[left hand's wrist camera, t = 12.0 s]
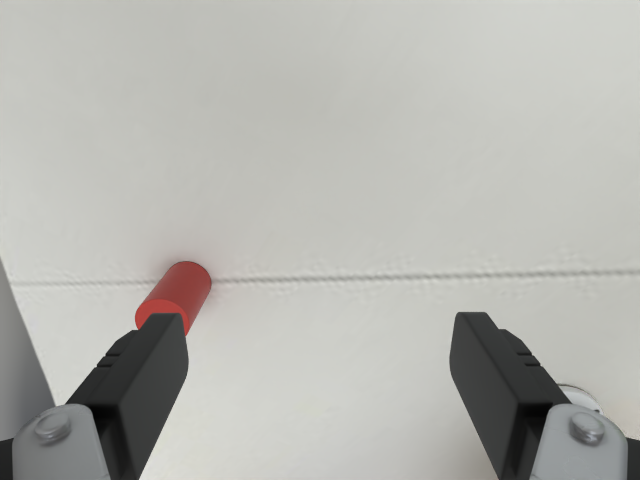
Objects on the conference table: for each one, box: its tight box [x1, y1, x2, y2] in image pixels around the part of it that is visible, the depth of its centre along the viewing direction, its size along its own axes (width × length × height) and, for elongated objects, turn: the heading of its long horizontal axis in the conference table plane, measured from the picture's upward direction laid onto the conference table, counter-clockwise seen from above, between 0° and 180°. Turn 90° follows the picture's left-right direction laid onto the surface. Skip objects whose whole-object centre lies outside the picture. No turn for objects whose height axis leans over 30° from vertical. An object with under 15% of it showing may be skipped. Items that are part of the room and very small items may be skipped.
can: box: [135, 262, 211, 336], centre depth 37 cm, size 5×5×8 cm
